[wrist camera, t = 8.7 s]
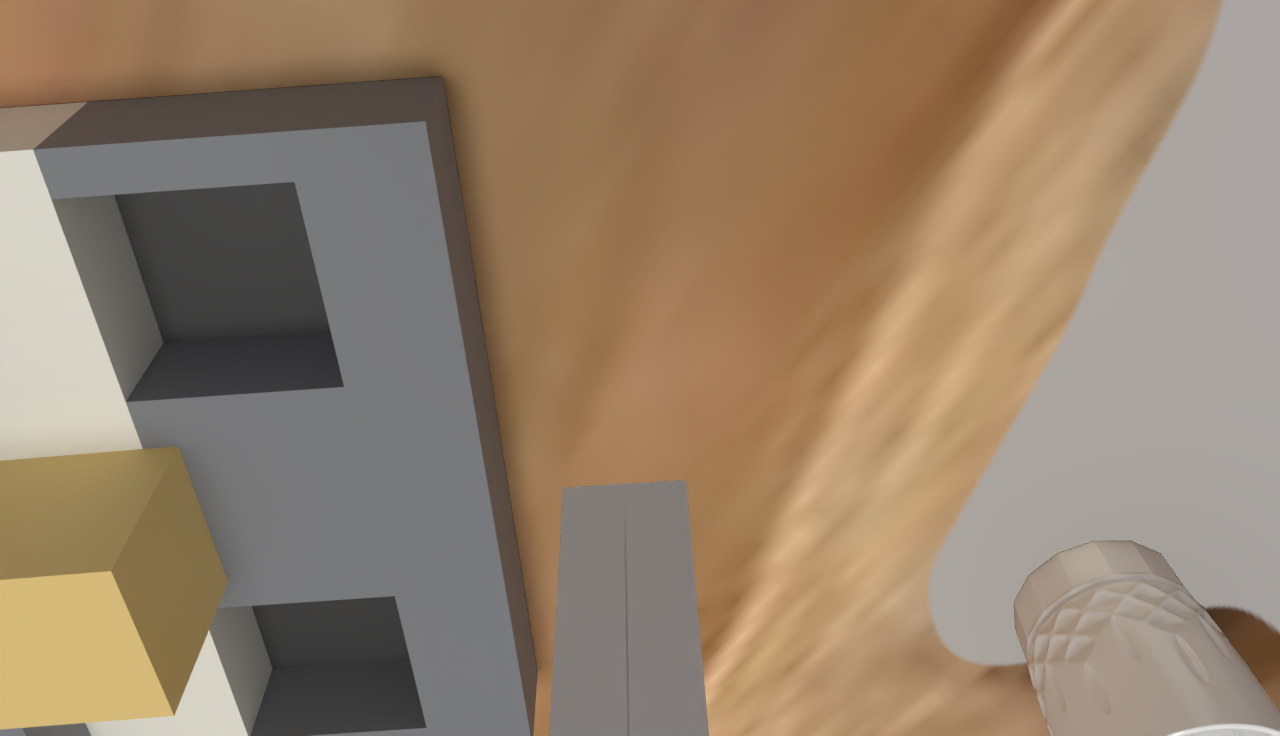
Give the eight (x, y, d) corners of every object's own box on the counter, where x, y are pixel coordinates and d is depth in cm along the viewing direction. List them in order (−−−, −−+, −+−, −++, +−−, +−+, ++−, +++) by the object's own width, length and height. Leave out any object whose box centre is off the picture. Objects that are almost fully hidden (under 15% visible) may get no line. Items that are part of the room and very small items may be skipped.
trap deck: (442, 76, 35) (409, 161, 29) (537, 671, 49) (528, 811, 43) (-137, 118, 35) (-287, 211, 29) (120, 698, 49) (54, 842, 43)
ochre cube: (177, 445, 37) (111, 571, 32) (228, 582, 40) (174, 716, 35) (-3, 461, 37) (-98, 588, 32) (61, 596, 41) (-17, 730, 35)
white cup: (993, 545, 46) (1082, 747, 37) (1193, 510, 45) (1329, 707, 37) (1001, 679, 50) (1083, 888, 42) (1184, 648, 49) (1305, 855, 41)
